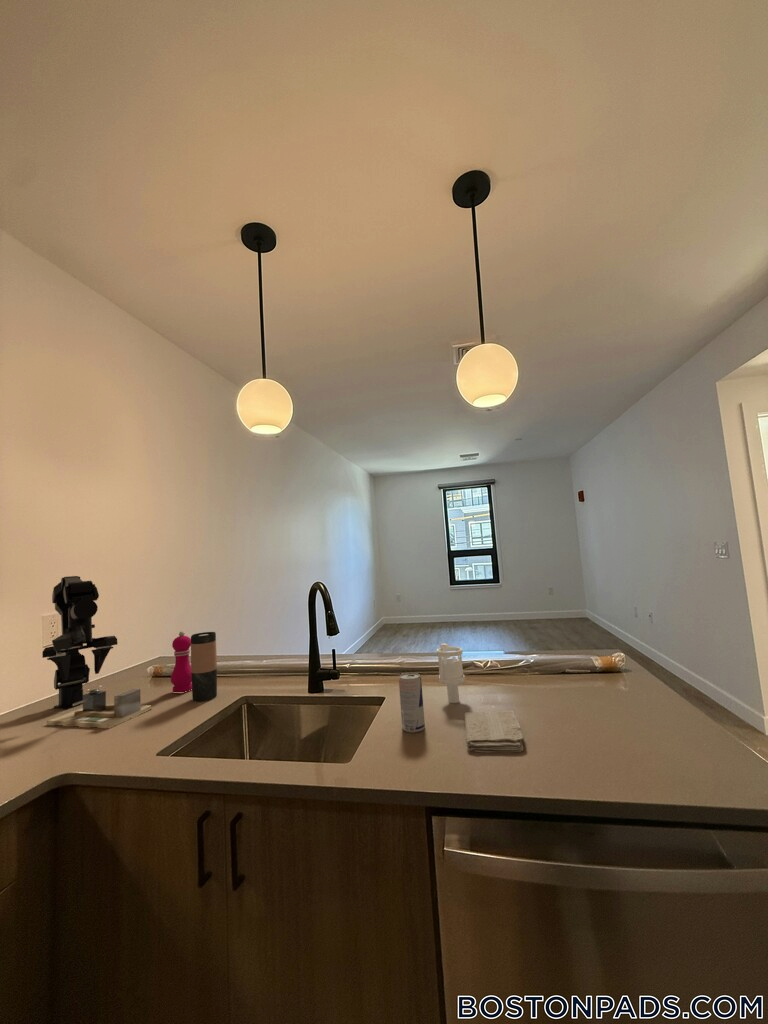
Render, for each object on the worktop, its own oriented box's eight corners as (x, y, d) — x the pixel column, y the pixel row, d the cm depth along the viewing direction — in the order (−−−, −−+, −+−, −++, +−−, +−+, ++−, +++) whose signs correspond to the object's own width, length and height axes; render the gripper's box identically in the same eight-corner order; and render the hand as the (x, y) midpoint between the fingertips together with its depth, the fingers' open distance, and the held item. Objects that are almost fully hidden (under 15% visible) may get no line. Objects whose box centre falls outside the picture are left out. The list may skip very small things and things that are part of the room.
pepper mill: (185, 694, 140) (184, 632, 142) (166, 694, 141) (165, 633, 143) (198, 687, 147) (197, 629, 149) (180, 687, 148) (179, 629, 150)
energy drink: (427, 724, 101) (423, 672, 102) (421, 734, 96) (417, 679, 97) (405, 723, 102) (402, 672, 104) (399, 732, 97) (395, 678, 99)
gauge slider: (68, 719, 118) (68, 697, 119) (95, 708, 126) (95, 688, 127) (78, 719, 117) (78, 697, 118) (105, 709, 125) (105, 688, 126)
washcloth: (467, 755, 85) (465, 739, 85) (463, 720, 103) (462, 707, 103) (528, 755, 83) (526, 739, 84) (513, 719, 101) (512, 706, 101)
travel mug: (223, 694, 136) (221, 631, 138) (203, 703, 129) (202, 636, 131) (205, 693, 139) (204, 631, 141) (186, 701, 132) (184, 636, 134)
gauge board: (46, 725, 120) (47, 698, 120) (93, 707, 133) (93, 683, 134) (109, 728, 113) (109, 700, 114) (151, 709, 126) (151, 684, 127)
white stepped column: (456, 695, 120) (452, 641, 121) (472, 702, 113) (466, 645, 115) (435, 700, 117) (431, 645, 118) (450, 707, 110) (445, 649, 112)
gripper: (26, 629, 119) (26, 687, 115) (92, 617, 119) (94, 675, 116) (57, 628, 130) (57, 681, 126) (117, 616, 130) (119, 669, 127)
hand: (81, 676), depth 124 cm, fingers open, 9 cm apart
